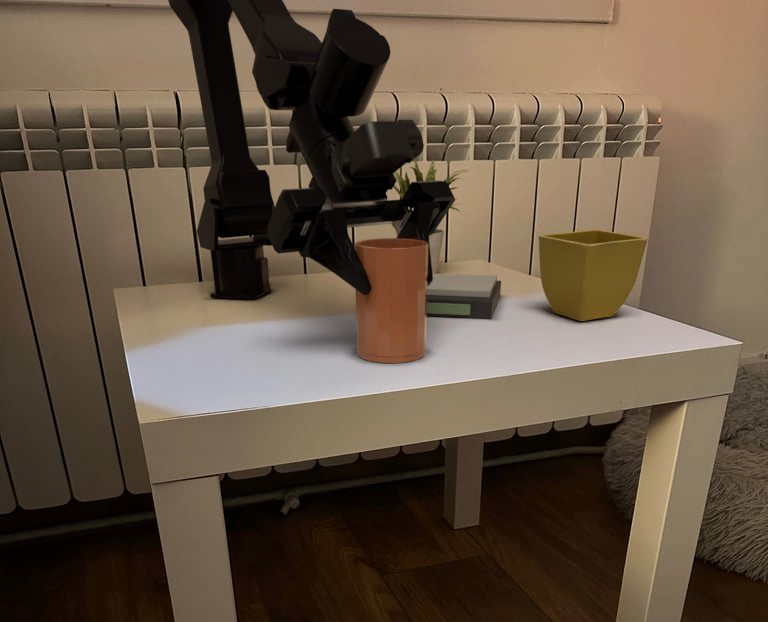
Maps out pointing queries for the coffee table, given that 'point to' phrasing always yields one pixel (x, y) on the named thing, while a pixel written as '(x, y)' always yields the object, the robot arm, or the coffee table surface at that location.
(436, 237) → the house plant
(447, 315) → the scale
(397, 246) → the cup
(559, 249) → the flower pot
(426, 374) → the coffee table surface
